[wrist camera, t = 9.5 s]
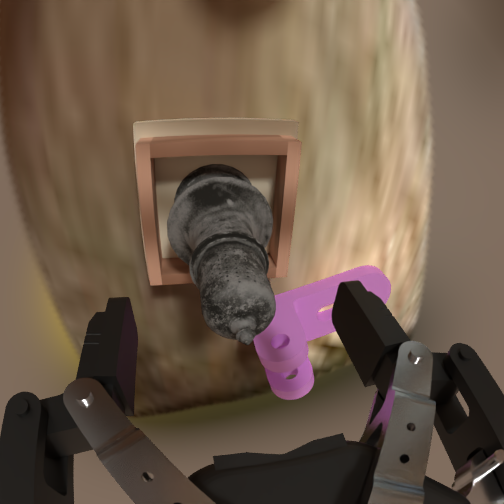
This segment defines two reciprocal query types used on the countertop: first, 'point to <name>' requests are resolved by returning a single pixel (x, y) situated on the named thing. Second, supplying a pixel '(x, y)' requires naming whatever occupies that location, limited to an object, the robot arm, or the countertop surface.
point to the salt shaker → (225, 248)
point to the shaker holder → (205, 153)
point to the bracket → (306, 328)
